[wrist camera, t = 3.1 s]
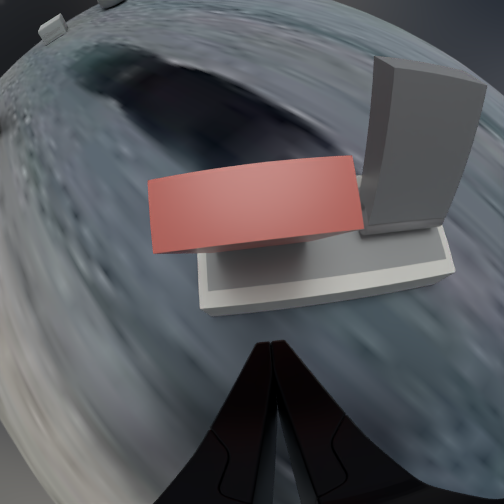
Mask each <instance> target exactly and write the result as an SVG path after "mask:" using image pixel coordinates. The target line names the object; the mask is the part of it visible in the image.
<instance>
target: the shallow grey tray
mask: <svg viewBox="0 0 504 504" xmlns="http://www.w3.org/2000/svg"><path fill="white" fill-rule="evenodd" d="M356 179H357V185H358V191H359V192H360V186H361V179H362V175H357V176H356ZM197 257H198V280H199V300H200V309H201V310H203V311H204V312H206V313H207V314H209V315H210V316H212V317H213V316H224V315H235V314H244V313H254V312H263V311H272V310H280V309H288V308H296V307H304V306H311V305H318V304H325V303H332V302H339V301H345V300H351V299H358V298H364V297H370V296H376V295H381V294H387V293H392V292H398V291H403V290H408V289H414V288H419V287H424V286H429V285H433V284H435V283H437V282H439V281H441V280H442V279H444V278H446V277H448V276H450V275H451V274H453V273H455V268H454V264H453V260H452V256H451V253H450V249H449V246H448V242H447V239H446V236H445V232H444V229H443V226H442V225H441V226H440V227H432V228H423V229H415V230H406V231H397V232H388V233H379V234H371V235H362V234H361V232H360V230H357V231H353V232H348V233H344V234H340V235H336V236H331V237H327V238H323V239H318V240H314V241H310V242H302V243H293V244H285V245H276V246H268V247H259V248H251V249H242V250H234V251H225V252H217V253H197Z"/></svg>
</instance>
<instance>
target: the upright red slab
mask: <svg viewBox="0 0 504 504" xmlns="http://www.w3.org/2000/svg"><path fill="white" fill-rule="evenodd" d="M148 196H149V211H150V224H151V235H152V245H153V254H174V253H217V252H225V251H234V250H242V249H251V248H259V247H268V246H276V245H285V244H293V243H302V242H310V241H314V240H318V239H323V238H327V237H331V236H336V235H340V234H344V233H348V232H353V231H357V230H361V229H364V224H363V217H362V210H361V203H360V197H359V191H358V185H357V179H356V174H355V168H354V163H353V158H352V155H351V156H332V157H317V158H304V159H293V160H282V161H272V162H263V163H255V164H246V165H238V166H231V167H224V168H217V169H210V170H204V171H197V172H191V173H185V174H180V175H174V176H168V177H163V178H158V179H153V180H148Z"/></svg>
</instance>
